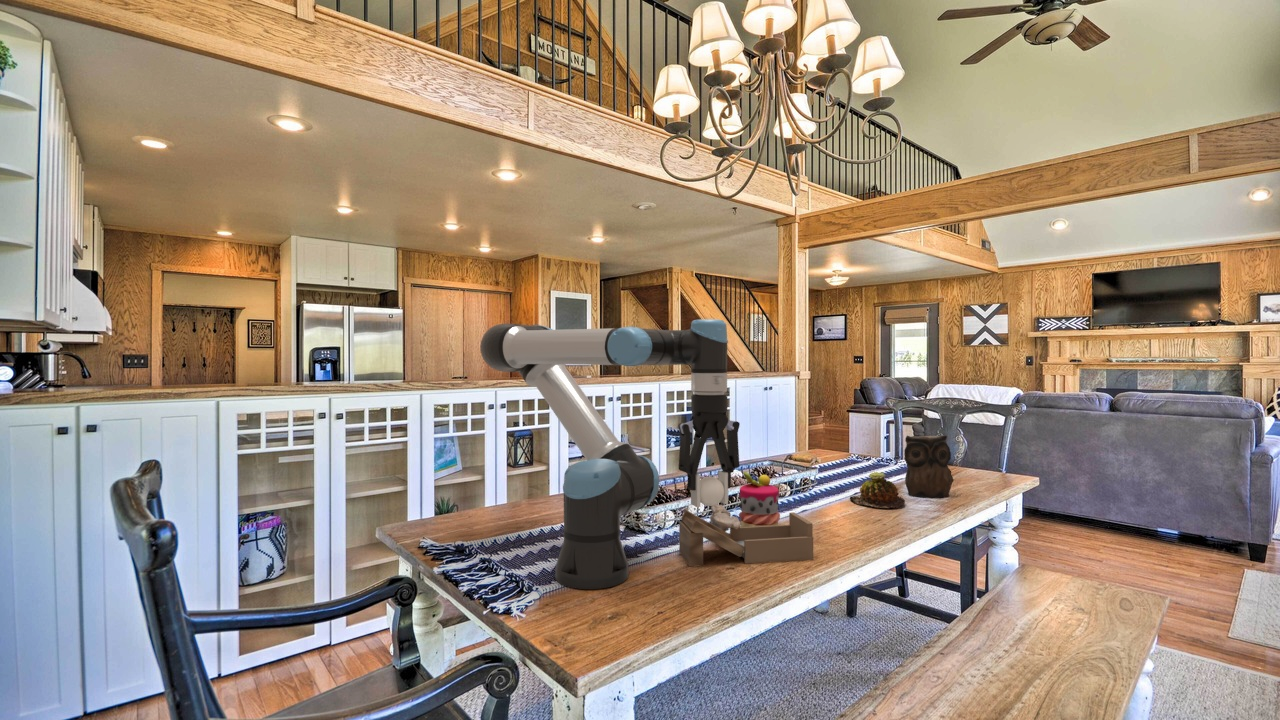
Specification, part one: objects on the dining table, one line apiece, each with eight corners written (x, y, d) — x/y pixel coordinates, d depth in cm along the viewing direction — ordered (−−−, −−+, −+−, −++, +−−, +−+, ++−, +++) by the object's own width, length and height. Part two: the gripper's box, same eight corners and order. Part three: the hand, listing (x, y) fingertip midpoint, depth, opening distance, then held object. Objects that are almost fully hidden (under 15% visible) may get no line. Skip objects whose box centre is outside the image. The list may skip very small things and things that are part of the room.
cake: (766, 522, 166) (766, 467, 166) (787, 532, 156) (787, 474, 156) (732, 525, 162) (732, 470, 162) (751, 536, 152) (751, 477, 152)
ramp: (689, 566, 130) (689, 521, 130) (679, 552, 140) (679, 510, 140) (745, 562, 132) (745, 518, 132) (731, 549, 142) (731, 507, 142)
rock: (721, 538, 139) (705, 511, 141) (716, 537, 153) (701, 512, 155) (743, 525, 140) (726, 498, 142) (735, 525, 154) (721, 500, 155)
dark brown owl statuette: (954, 496, 196) (954, 435, 196) (934, 501, 189) (934, 438, 189) (917, 489, 206) (917, 431, 206) (897, 494, 199) (897, 434, 199)
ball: (704, 510, 121) (704, 480, 121) (690, 503, 127) (690, 475, 127) (729, 507, 123) (729, 478, 123) (715, 501, 129) (714, 473, 129)
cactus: (844, 496, 197) (844, 466, 197) (894, 497, 196) (894, 467, 196) (857, 509, 180) (857, 477, 180) (912, 510, 178) (912, 478, 178)
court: (745, 563, 132) (745, 527, 132) (729, 548, 142) (729, 515, 142) (813, 559, 134) (813, 523, 134) (793, 545, 145) (793, 512, 145)
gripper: (677, 395, 118) (677, 512, 118) (757, 393, 125) (757, 503, 125) (660, 393, 125) (661, 504, 125) (737, 391, 132) (737, 496, 132)
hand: (709, 503), depth 125 cm, fingers closed on ball, 6 cm apart
